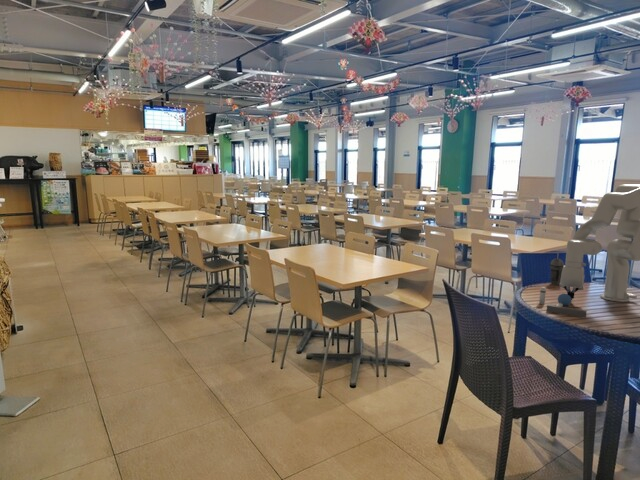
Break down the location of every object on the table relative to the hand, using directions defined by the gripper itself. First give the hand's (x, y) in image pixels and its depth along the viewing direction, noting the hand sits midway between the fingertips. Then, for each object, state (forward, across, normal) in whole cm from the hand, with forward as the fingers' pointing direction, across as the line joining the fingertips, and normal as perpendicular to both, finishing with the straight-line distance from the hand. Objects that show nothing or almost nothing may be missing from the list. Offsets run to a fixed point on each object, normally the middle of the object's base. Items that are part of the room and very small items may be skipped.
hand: (570, 299), depth 220 cm
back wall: (+2, -1, +23) cm, 23 cm away
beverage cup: (+2, +12, -37) cm, 39 cm away
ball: (-2, +2, +8) cm, 8 cm away
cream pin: (0, +3, +13) cm, 13 cm away
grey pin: (+2, +11, +12) cm, 16 cm away
